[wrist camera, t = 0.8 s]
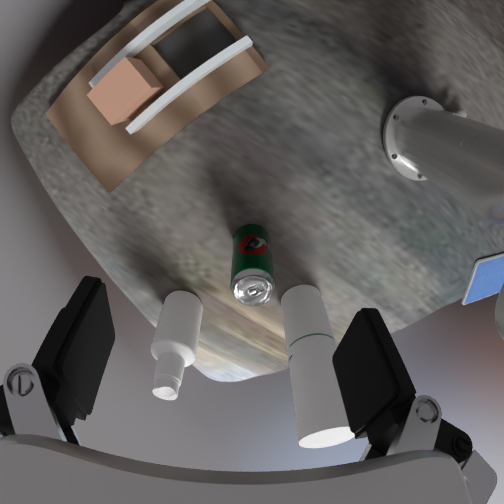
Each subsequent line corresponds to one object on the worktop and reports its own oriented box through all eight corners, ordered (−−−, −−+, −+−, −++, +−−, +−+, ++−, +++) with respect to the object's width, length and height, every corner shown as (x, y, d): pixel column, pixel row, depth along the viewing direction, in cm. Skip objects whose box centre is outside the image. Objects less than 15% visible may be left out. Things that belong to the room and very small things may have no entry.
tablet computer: (522, 245, 44) (525, 248, 43) (507, 286, 51) (510, 289, 49) (474, 258, 45) (477, 261, 44) (459, 303, 52) (461, 306, 51)
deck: (193, -17, 22) (190, -22, 20) (268, 69, 29) (269, 68, 27) (53, 112, 29) (45, 114, 28) (115, 188, 36) (109, 193, 35)
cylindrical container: (276, 313, 50) (291, 449, 28) (286, 282, 46) (310, 429, 25) (314, 316, 50) (343, 445, 29) (327, 286, 47) (369, 423, 25)
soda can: (226, 234, 41) (220, 287, 31) (255, 215, 40) (259, 265, 29) (247, 258, 43) (247, 314, 33) (275, 241, 42) (284, 295, 32)
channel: (207, -6, 22) (204, -13, 20) (252, 45, 26) (252, 42, 24) (97, 82, 27) (88, 83, 24) (137, 131, 31) (130, 134, 29)
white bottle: (159, 307, 48) (134, 393, 33) (174, 283, 46) (148, 374, 30) (192, 323, 51) (178, 410, 35) (210, 301, 48) (198, 393, 32)
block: (141, 59, 26) (124, 56, 22) (164, 87, 28) (151, 87, 24) (106, 92, 27) (86, 95, 23) (128, 119, 30) (111, 125, 26)
